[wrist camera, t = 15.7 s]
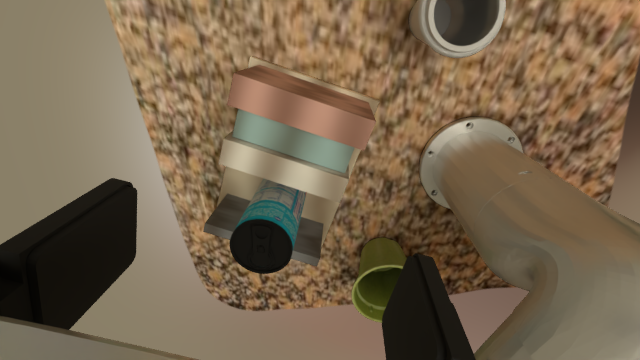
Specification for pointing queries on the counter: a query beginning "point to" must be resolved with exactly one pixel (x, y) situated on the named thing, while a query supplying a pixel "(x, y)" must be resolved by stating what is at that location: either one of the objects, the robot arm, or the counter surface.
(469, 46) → the cup
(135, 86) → the counter surface
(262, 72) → the book rack
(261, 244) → the beverage can
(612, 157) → the counter surface
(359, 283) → the plant pot
